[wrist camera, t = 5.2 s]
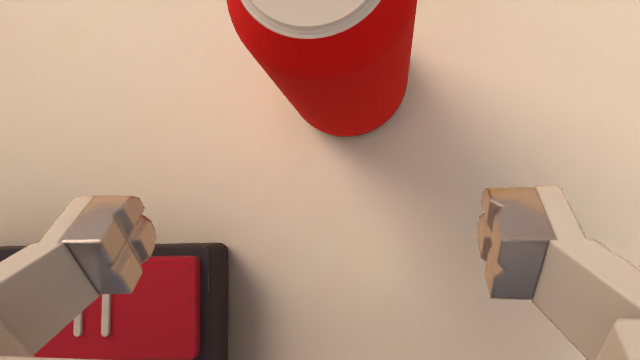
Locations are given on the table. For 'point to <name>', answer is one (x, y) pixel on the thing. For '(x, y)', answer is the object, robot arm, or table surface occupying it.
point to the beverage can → (332, 56)
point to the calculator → (155, 311)
